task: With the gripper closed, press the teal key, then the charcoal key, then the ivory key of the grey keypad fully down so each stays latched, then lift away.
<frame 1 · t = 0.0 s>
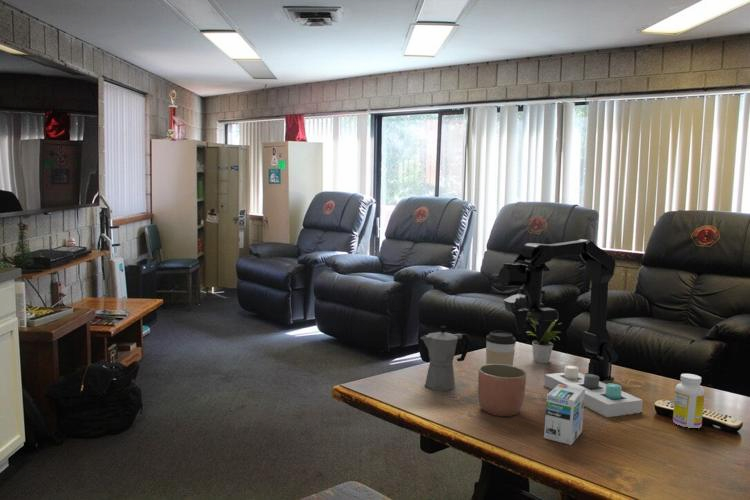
hand: (528, 337, 180), 15 cm above the table, tool pointing down, fingers open, 9 cm apart
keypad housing: (590, 398, 172), on the table
coffee cup: (498, 381, 185), on the table
key charcoal: (591, 383, 172), point 5 cm above the table, slide at 0.0 cm
light bulb box: (563, 435, 146), on the table
key ivory: (571, 374, 180), point 4 cm above the table, slide at 0.0 cm
coffeepot: (443, 386, 178), on the table
house plant: (537, 361, 209), on the table
planter: (499, 411, 160), on the table
supplement bottle: (686, 425, 155), on the table
key teal: (613, 392, 164), point 4 cm above the table, slide at 0.0 cm
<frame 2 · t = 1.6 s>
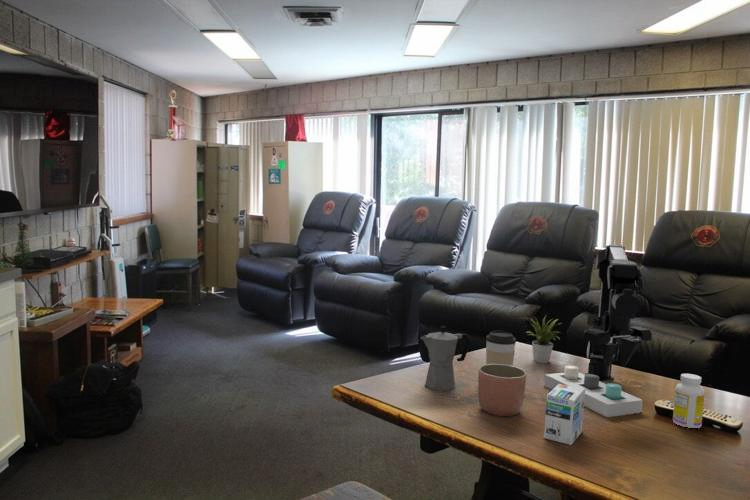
hand: (615, 365, 163), 12 cm above the table, tool pointing down, fingers open, 5 cm apart
nothing on the table moved.
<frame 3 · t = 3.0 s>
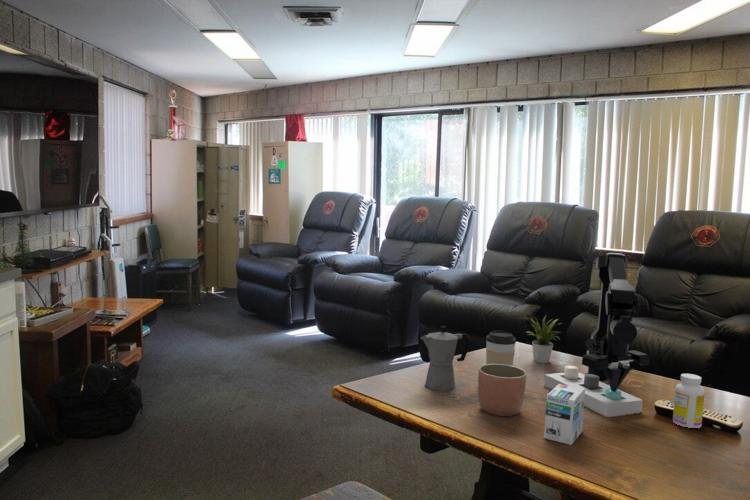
hand: (613, 390, 164), 5 cm above the table, tool pointing down, fingers closed, pressing on key teal
key teal: (612, 397, 164), point 3 cm above the table, slide at 1.4 cm, touching gripper
everything else where it was.
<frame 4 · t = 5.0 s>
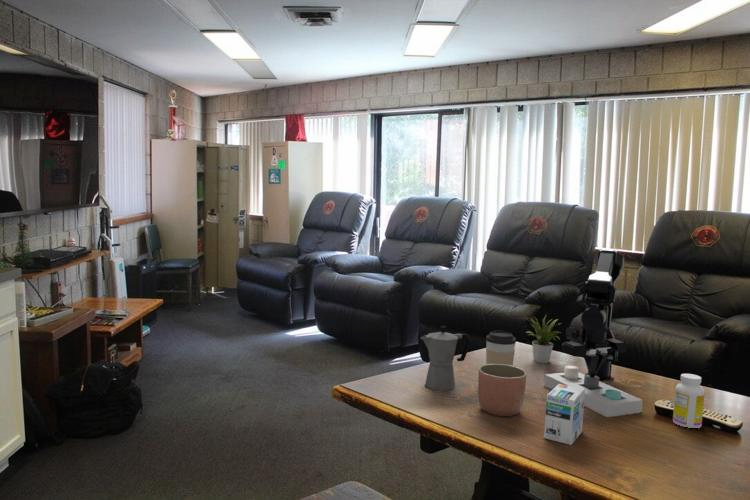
hand: (591, 376, 172), 6 cm above the table, tool pointing down, fingers closed, pressing on key charcoal
key charcoal: (591, 383, 172), point 4 cm above the table, slide at 0.2 cm, touching gripper
key teal: (612, 398, 164), point 3 cm above the table, slide at 1.7 cm
everything else where it was.
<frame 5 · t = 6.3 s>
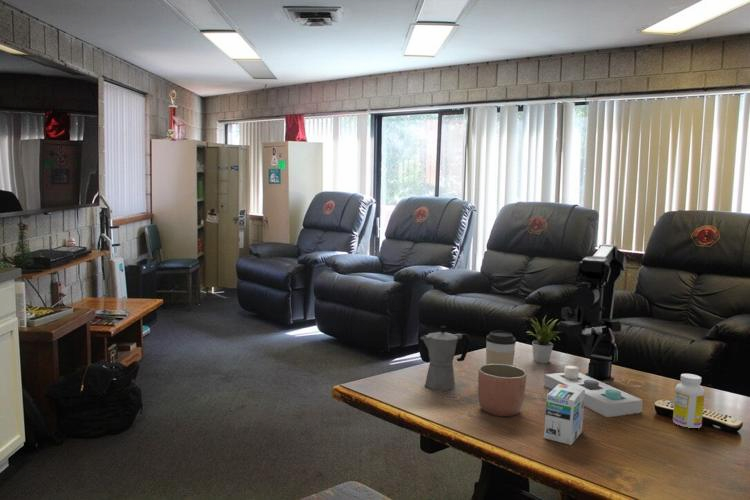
hand: (587, 355, 174), 12 cm above the table, tool pointing down, fingers closed
key charcoal: (590, 388, 172), point 3 cm above the table, slide at 1.7 cm
everything else where it was.
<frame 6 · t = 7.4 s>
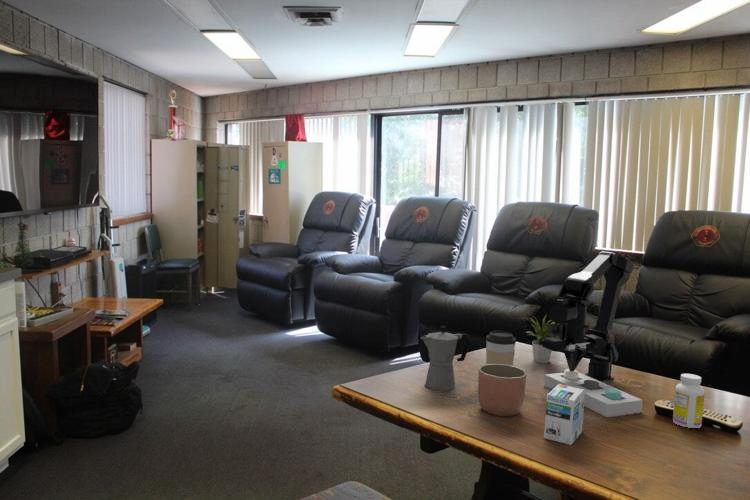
hand: (571, 371, 180), 5 cm above the table, tool pointing down, fingers closed, pressing on key ivory
key ivory: (571, 377, 180), point 3 cm above the table, slide at 1.1 cm, touching gripper
everything else where it was.
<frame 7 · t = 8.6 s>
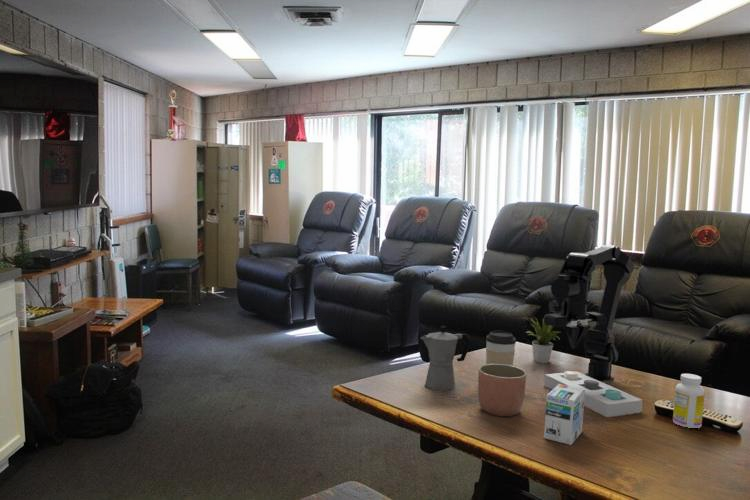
hand: (573, 347, 179), 12 cm above the table, tool pointing down, fingers closed
key ivory: (570, 379, 180), point 3 cm above the table, slide at 1.7 cm
everything else where it was.
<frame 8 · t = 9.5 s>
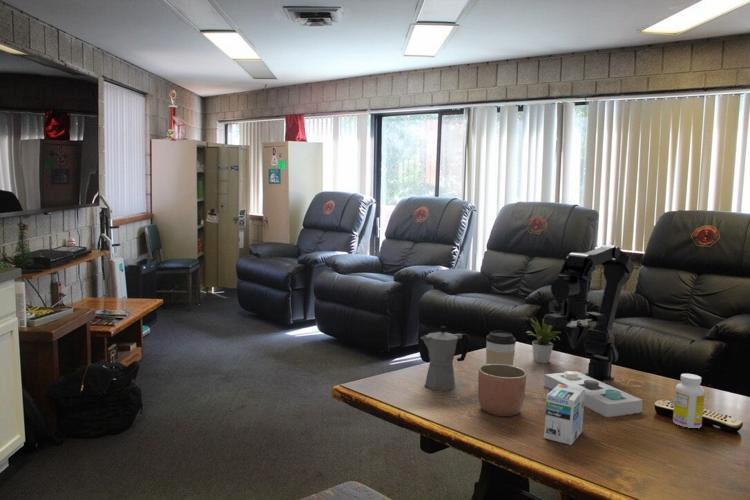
hand: (573, 347, 179), 12 cm above the table, tool pointing down, fingers closed
nothing on the table moved.
at the end: key teal slide at 1.7 cm; key charcoal slide at 1.7 cm; key ivory slide at 1.7 cm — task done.
